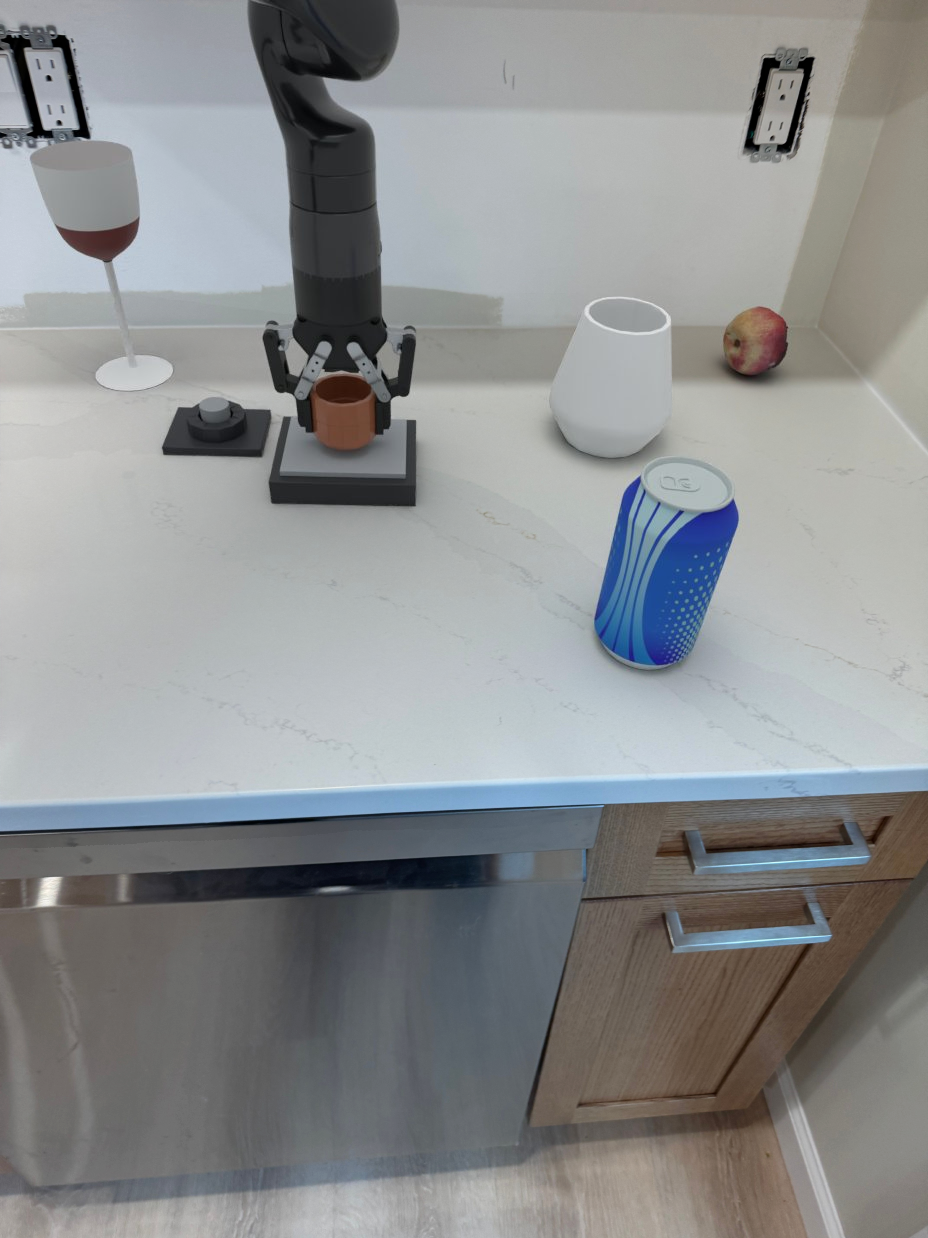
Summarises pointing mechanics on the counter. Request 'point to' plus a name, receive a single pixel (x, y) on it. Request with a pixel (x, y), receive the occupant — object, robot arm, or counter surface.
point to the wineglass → (99, 231)
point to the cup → (615, 378)
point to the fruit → (755, 341)
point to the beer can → (665, 561)
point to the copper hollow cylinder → (343, 411)
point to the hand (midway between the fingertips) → (345, 429)
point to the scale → (345, 468)
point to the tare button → (214, 410)
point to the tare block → (218, 433)
